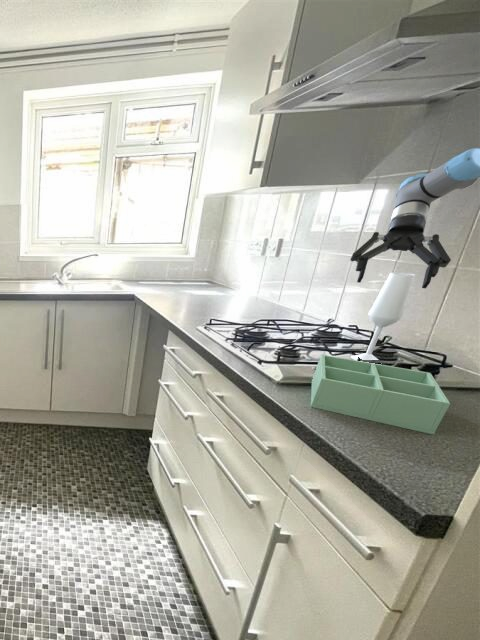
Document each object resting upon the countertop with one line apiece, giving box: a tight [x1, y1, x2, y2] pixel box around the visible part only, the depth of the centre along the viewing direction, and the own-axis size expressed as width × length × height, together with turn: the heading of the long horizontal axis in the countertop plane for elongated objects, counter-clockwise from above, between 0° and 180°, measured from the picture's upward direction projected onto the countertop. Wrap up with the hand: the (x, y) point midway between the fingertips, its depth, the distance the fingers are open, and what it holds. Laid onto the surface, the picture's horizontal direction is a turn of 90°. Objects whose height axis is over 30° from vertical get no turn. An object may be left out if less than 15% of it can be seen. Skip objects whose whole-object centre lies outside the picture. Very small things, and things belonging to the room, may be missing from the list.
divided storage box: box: [310, 354, 451, 436], centre depth 91 cm, size 19×19×7 cm
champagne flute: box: [350, 271, 416, 360], centre depth 113 cm, size 7×7×24 cm
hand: (391, 282), depth 117 cm, fingers open, 13 cm apart
